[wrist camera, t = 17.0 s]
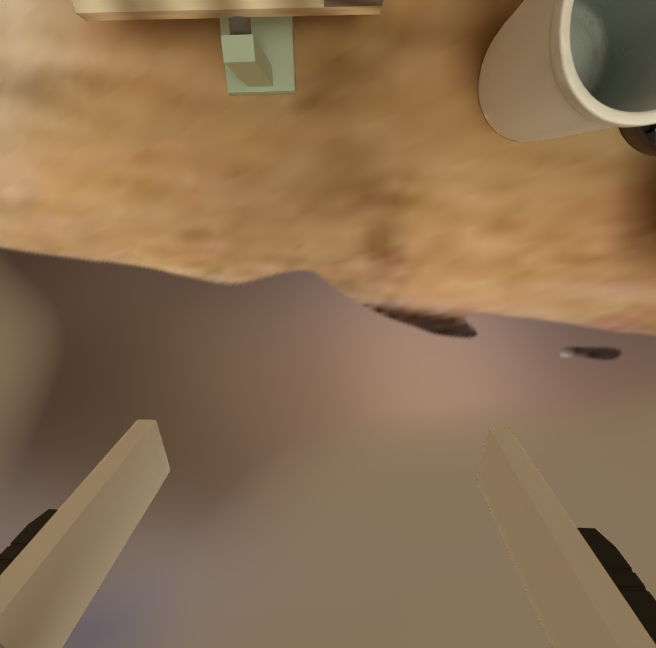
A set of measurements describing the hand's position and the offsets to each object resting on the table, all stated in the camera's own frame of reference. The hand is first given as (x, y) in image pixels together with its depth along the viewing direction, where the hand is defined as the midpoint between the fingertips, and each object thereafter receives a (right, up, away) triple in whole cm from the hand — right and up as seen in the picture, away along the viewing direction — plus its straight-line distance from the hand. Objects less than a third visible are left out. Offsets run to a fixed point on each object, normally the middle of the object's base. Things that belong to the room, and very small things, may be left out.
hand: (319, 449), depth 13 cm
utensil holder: (+24, +34, +24) cm, 48 cm away
